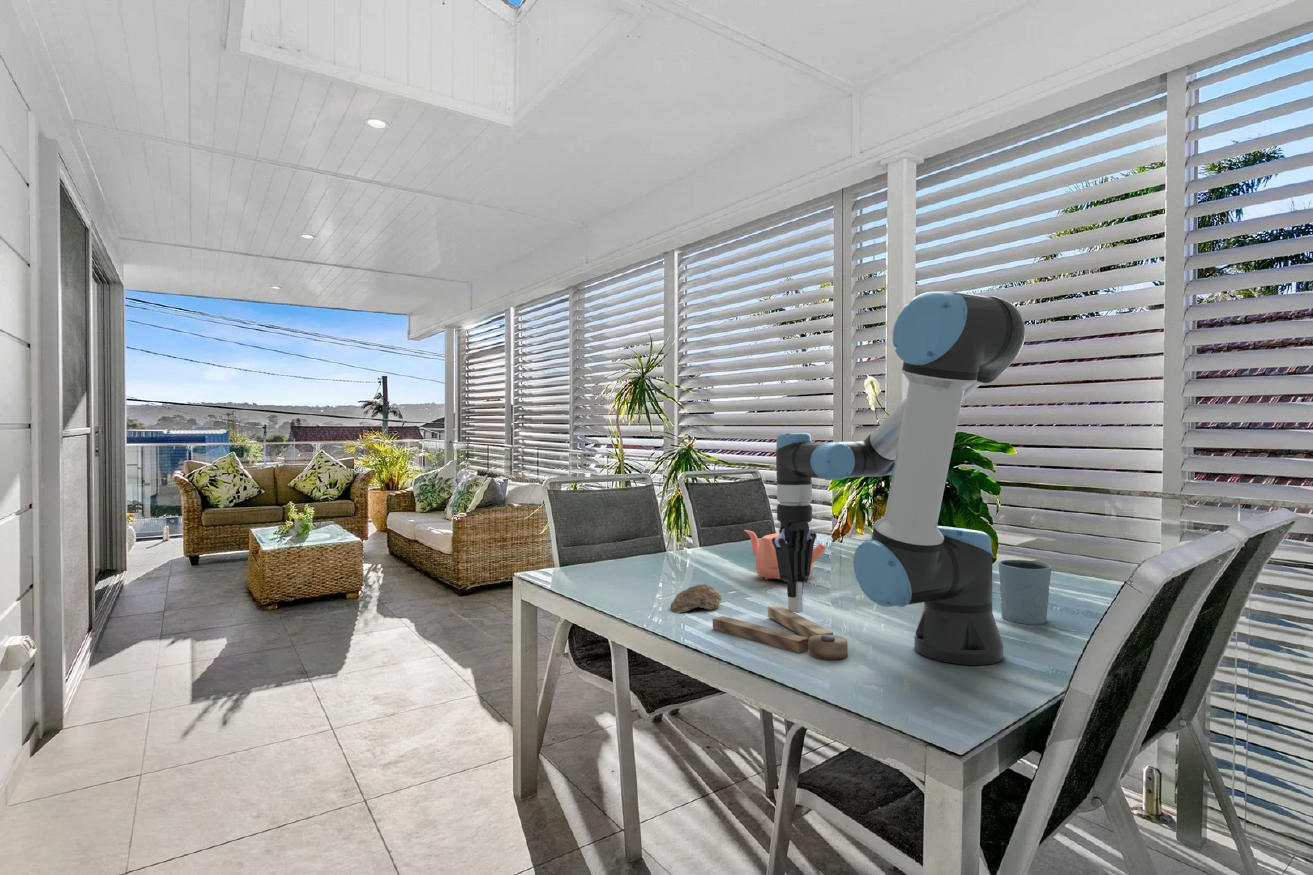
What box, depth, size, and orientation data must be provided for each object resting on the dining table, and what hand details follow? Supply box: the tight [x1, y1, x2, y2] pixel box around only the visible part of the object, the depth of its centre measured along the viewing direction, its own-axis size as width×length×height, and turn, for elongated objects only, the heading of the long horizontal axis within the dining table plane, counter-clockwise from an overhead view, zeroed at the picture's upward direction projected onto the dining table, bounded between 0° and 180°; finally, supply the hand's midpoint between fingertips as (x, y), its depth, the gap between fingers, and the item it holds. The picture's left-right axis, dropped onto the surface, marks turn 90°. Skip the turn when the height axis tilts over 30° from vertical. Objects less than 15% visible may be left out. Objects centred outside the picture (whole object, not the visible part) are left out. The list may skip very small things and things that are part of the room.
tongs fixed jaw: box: [712, 615, 849, 661], centre depth 136 cm, size 30×7×3 cm, turn 42°
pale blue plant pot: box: [998, 559, 1052, 625], centre depth 149 cm, size 10×10×12 cm
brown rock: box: [670, 583, 723, 614], centre depth 162 cm, size 10×12×5 cm
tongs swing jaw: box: [767, 604, 834, 641], centre depth 142 cm, size 22×3×2 cm, turn 17°
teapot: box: [744, 528, 827, 583], centre depth 192 cm, size 18×18×14 cm
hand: (795, 611), depth 150 cm, fingers closed
